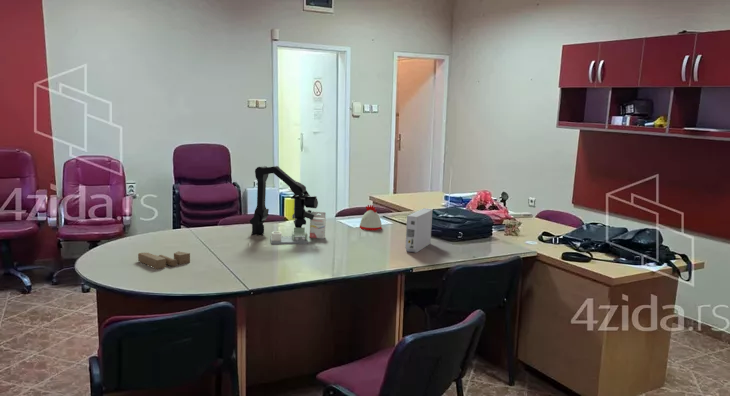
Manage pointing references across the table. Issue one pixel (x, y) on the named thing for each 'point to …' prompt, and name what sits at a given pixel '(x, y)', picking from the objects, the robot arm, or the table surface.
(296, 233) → the cover
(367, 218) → the cream and red dome
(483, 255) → the table surface
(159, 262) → the wooden block set
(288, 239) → the housing plate
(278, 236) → the white hollow square block
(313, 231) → the ink cartridge box
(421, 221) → the game console
